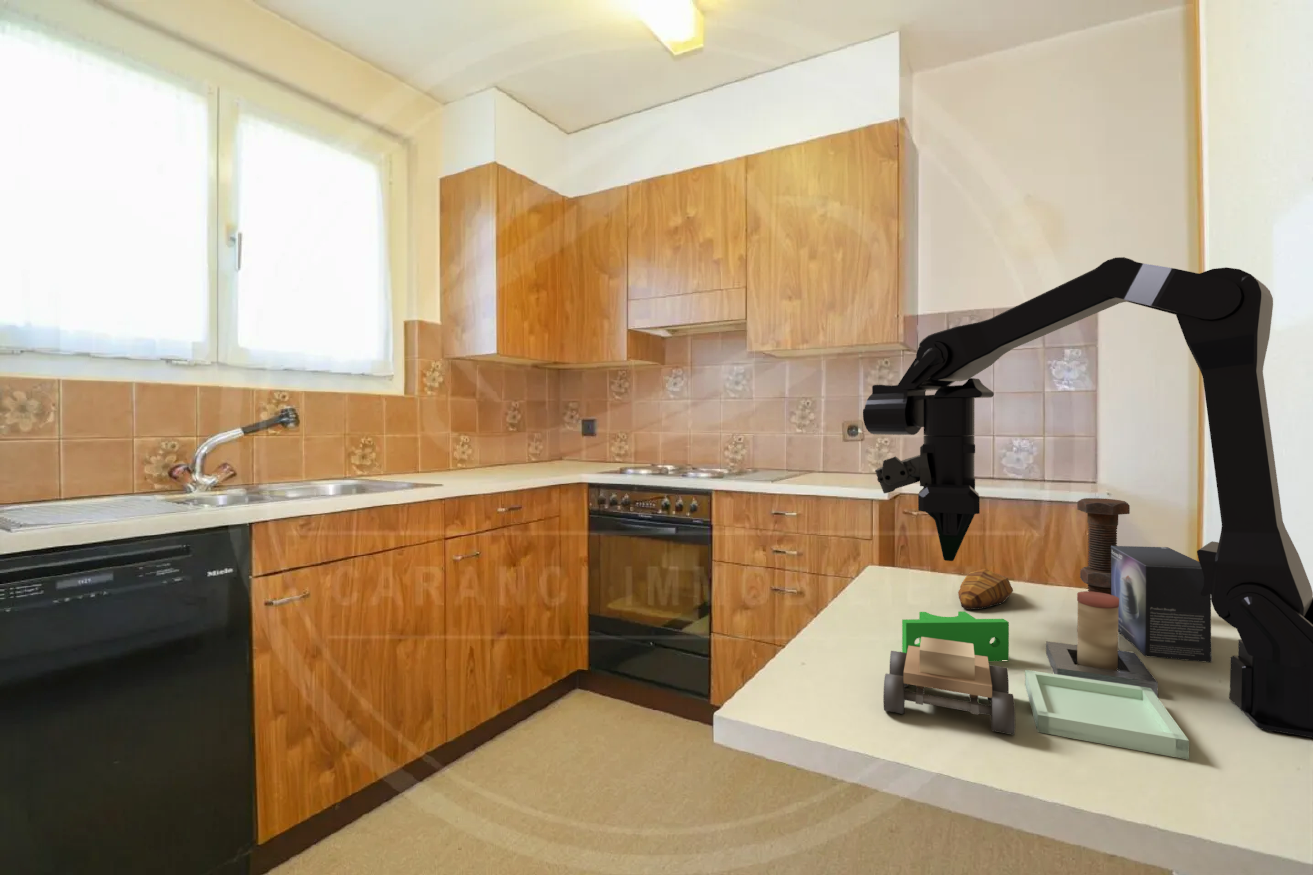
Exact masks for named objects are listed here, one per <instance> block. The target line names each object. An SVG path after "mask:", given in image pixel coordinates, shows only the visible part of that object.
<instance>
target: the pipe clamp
mask: <svg viewBox="0 0 1313 875" xmlns="http://www.w3.org/2000/svg"><path fill="white" fill-rule="evenodd" d="M957 614H958V615H956V616H955V615H954V616H940V615H935V614H932V613H929V612H927V611H919V613H918V615H919V616H918V617H919V619H917V618H916V619H902V620H901V621H902V622H901V623H902V624H901V632H902V633H901V637H902V638H901V643H902V644H901V649H902V650H901V652H904V653H907V650H908V646H915V647H920V643H921V637H927V638H935V639H942V640H950V641H957V642H965V643H972V644H973V646H974V655H979V656H986V657H988V662H1003V661H1002V660H1010V657H1009V656H1010V654H1009V652H1010V651H1009V649H1010V644H1009V641H1010V638H1009V637H1010V636H1009V635H1010V634H1009V633H1010V622H1009V621H1008V620H1006V619H1005V618H975V617H974V616H973V615H971V614H970V613H968V612H966V611H957ZM917 639H919V642H918V643H916V641H917ZM992 639H994V640H993V641H992V643H991V640H992Z"/></svg>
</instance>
